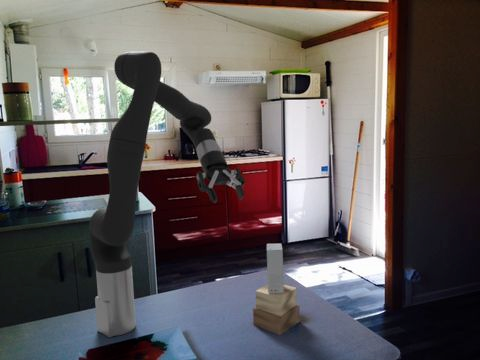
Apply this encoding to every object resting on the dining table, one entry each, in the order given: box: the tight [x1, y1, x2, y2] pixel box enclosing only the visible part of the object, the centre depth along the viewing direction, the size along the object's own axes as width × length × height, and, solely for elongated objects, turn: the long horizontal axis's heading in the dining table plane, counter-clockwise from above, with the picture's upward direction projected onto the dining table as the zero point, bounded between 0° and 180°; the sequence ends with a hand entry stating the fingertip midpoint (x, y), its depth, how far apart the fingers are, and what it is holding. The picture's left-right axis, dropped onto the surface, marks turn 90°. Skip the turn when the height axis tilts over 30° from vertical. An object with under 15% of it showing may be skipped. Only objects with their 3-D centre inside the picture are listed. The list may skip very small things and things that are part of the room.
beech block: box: [255, 283, 298, 316], centre depth 112 cm, size 8×8×5 cm
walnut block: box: [252, 304, 301, 336], centre depth 113 cm, size 9×9×5 cm
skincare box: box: [266, 243, 285, 294], centre depth 111 cm, size 6×4×12 cm
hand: (229, 199), depth 120 cm, fingers open, 8 cm apart
